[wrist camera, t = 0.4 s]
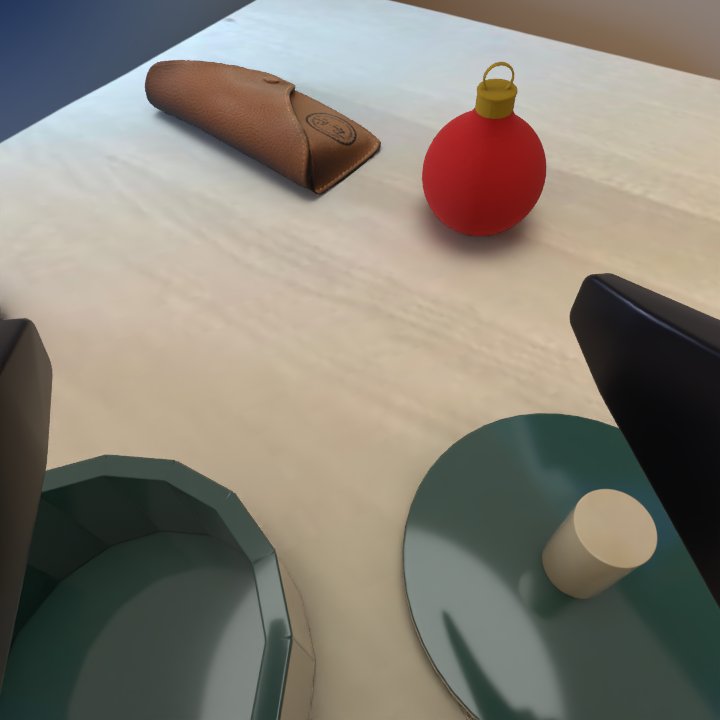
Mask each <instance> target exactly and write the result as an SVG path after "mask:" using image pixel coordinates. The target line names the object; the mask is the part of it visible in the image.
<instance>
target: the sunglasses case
mask: <svg viewBox="0 0 720 720" xmlns="http://www.w3.org/2000/svg"><path fill="white" fill-rule="evenodd" d="M145 92H146V95H147V99H148V101H149V102H150V103H151V104H152V105H153V106H154V107H156V108H157V109H159V110H161V111H164V112H165V113H167V114H169V115H172V116H174V117H176V118H178V119H180V120H184V121H185V122H187V123H188V124H191V125H193V126H196V127H198V128H201V129H202V130H203V131H205V132H207V133H208V134H210V135H212V136H214V137H215V138H217V139H219V140H221V141H223V142H224V143H226V144H228V145H230V146H232V147H234V148H236V149H238V150H240V151H241V152H243V153H244V154H246V155H248V156H250V157H251V158H253V159H255V160H257V161H258V162H260V163H262V164H264V165H266V166H267V167H269V168H271V169H273V170H274V171H276V172H278V173H279V174H281V175H282V176H284V177H286V178H288V179H290V180H292V181H293V182H295V183H296V184H298V185H300V186H302V187H305V188H308V189H310V190H312V191H313V192H315V193H316V194H322V193H324V192H325V191H327V190H328V189H329V188H331V187H333V186H334V185H336V184H337V183H339V182H340V181H342V180H343V179H345V178H346V177H347V176H349V175H350V174H351V173H353V172H354V171H355V170H356V169H357V168H359V167H360V166H361V165H362V164H363V163H364V162H365V161H366V160H368V159H369V158H370V157H371V156H372V155H374V154H375V153H376V152H377V150H378V149H379V148H380V145H381V142H380V141H379V140H378V139H377V138H376V137H375V136H374V135H373V134H372V133H371V132H369V131H368V130H367V129H365V128H364V127H362V126H361V125H359V124H357V123H356V122H354V121H353V120H350V119H349V118H347V117H346V116H344V115H342V114H340V113H339V112H337V111H335V110H333V109H332V108H330V107H328V106H326V105H324V104H322V103H320V102H318V101H316V100H314V99H312V98H310V97H308V96H307V95H304V94H302V93H300V92H298V91H295V86H294V84H292V83H290V82H287V81H285V80H283V79H281V78H279V77H277V76H275V75H272V74H269V73H266V72H261V71H256V70H250V69H246V68H244V67H239V66H236V65H226V64H222V63H215V62H204V61H190V60H187V61H185V60H172V61H161V62H157V63H156V64H154V65H153V66H152V67H151V68H150V69H149V71H148V74H147V77H146V81H145Z"/></svg>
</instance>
